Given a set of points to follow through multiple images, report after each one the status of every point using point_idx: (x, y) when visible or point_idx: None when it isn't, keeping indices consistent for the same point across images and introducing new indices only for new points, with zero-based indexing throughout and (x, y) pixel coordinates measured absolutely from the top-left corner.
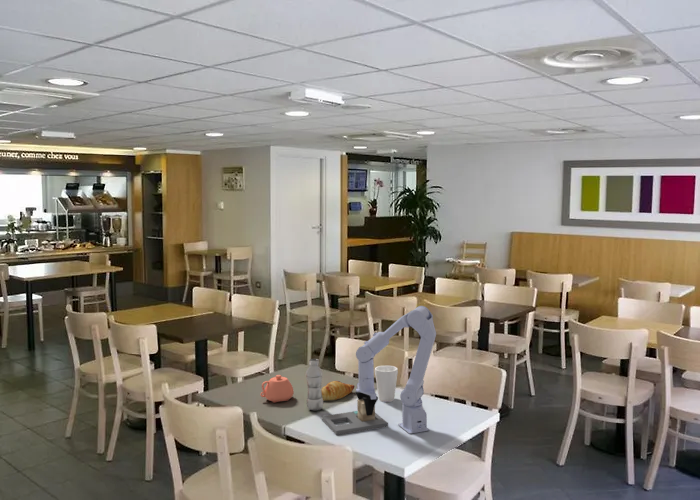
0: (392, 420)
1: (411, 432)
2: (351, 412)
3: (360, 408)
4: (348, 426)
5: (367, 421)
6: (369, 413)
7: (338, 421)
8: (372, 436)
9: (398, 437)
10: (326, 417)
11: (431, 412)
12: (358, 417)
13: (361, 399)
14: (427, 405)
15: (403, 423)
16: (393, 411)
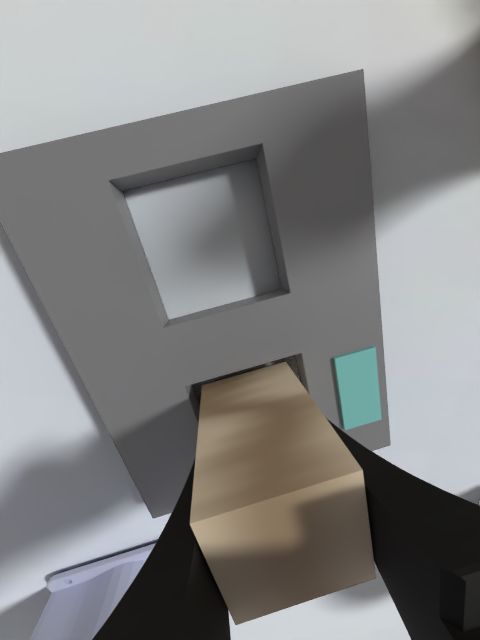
0: None
1: (50, 590)
2: (369, 332)
3: (246, 437)
4: (90, 286)
5: (186, 419)
6: None
7: (271, 226)
8: (5, 418)
9: (3, 533)
10: (321, 112)
11: (304, 630)
12: (273, 369)
13: (357, 511)
14: (380, 618)
15: (114, 590)
16: None
